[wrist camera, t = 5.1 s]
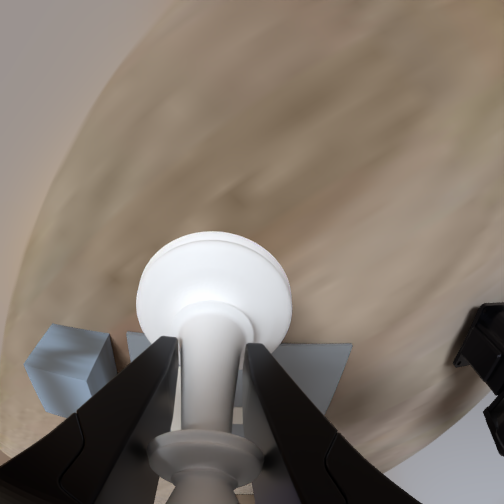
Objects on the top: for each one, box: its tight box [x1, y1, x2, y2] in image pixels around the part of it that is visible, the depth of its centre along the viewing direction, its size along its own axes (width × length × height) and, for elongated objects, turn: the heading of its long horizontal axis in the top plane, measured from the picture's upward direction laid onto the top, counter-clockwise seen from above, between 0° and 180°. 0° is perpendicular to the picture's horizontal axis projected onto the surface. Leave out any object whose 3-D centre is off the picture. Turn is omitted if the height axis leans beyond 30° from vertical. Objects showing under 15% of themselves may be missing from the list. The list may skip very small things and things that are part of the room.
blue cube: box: [24, 324, 118, 418], centre depth 18 cm, size 5×5×5 cm
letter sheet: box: [126, 331, 352, 438], centre depth 23 cm, size 16×16×1 cm
